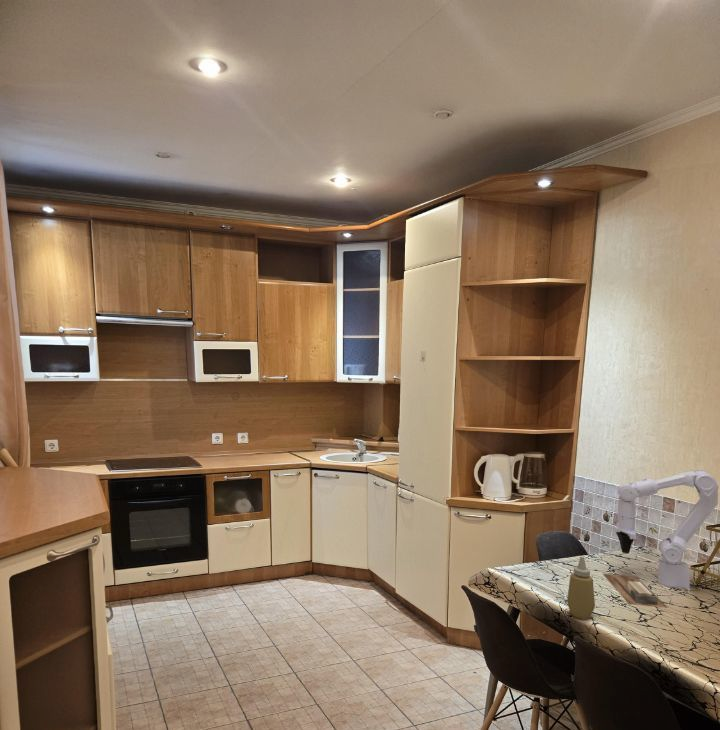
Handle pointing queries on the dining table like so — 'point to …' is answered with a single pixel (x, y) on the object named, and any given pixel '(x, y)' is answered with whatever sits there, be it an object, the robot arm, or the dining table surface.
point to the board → (632, 598)
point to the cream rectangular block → (638, 588)
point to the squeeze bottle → (581, 592)
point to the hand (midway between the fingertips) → (625, 552)
